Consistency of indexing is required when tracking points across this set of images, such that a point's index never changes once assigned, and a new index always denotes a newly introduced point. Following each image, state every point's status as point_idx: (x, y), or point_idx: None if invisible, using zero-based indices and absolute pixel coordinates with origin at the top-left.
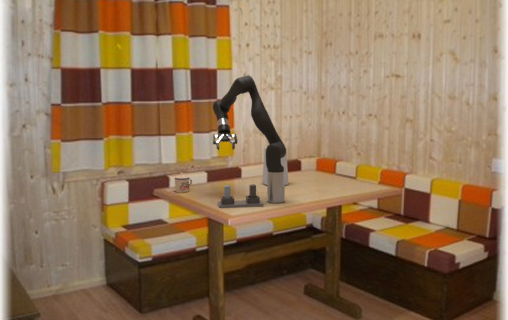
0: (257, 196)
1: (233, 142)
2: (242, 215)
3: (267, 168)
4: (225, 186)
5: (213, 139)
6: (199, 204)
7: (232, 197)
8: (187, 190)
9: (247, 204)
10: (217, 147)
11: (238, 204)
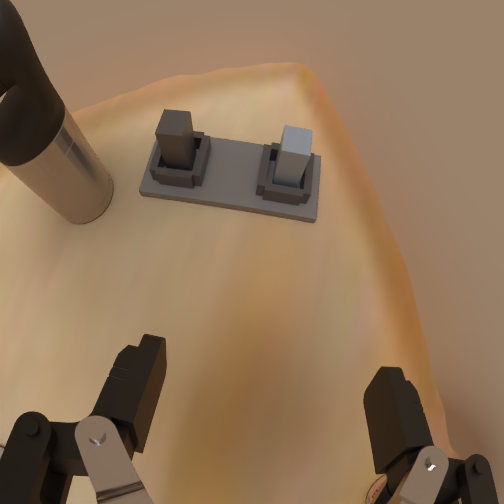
0: (160, 150)
1: (106, 420)
2: (266, 70)
3: (56, 115)
4: (307, 131)
5: (493, 496)
6: (379, 239)
7: (265, 163)
8: (381, 481)
9: (215, 138)
10: (406, 382)
11: (248, 144)
